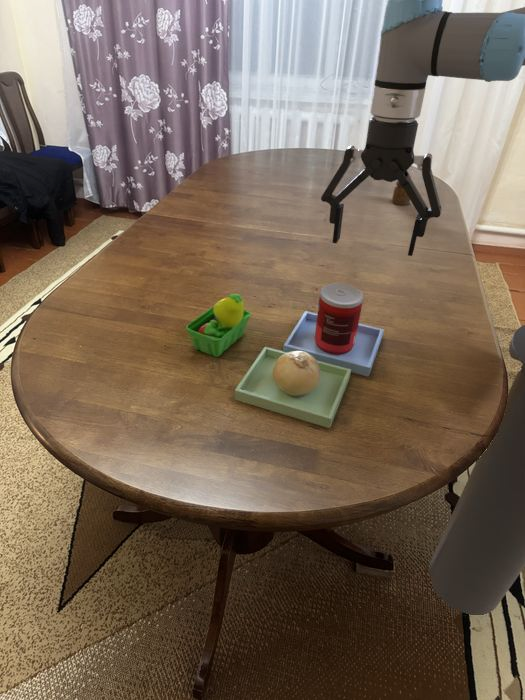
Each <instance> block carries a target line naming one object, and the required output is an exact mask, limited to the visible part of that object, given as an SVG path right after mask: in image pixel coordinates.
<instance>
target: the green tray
mask: <svg viewBox="0 0 525 700" xmlns="http://www.w3.org/2000/svg"><path fill="white" fill-rule="evenodd" d="M286 353H287V352H283V350H279V349H276V348H271V347H269V346H264V347H263V349H262V350H261V352H260V353H259V354H258V356H257V357H256V359H254V362H253V363H252V365H251V366H250V367H249V369H248V370H247V372H246V373H245V375H244V376H243V377H242V379H241V381H240V382H239V384H238V385H237V386H236V388H235V389H234V400H235V401H237V402H241V403H244V404H248V405H251V406H254V407H258V408H261V409H264V410H268V411H270V412H274V413H277V414H281V415H283V416H287V417H290V418H294V419H297V420H299V421H304V422H307V423H310V424H313V425H317V426H321V427H323V428H326V429H331V426H332V424H333V421H334V419H335V417H336V414H337V412H338V409H339V406H340V404H341V402H342V399H343V396H344V393H345V391H346V389H347V386H348V383H349V381H350V378H351V373H352V372H351V369H347V368H344V367H340V366H336V365H332V364H329V363H325V362H321V361H317V360H316V361H317V362H318V364H319V367H320V379H319V382H318V385H317V386H316V388H315V389H313V390H312V391H311V392H310V393H308V394H304V395H299V396H292V395H289V394H287V393H285V392H284V391H283V390H281V389H280V388H279V387H278V386H277V385H276V384H275V382H274V379H273V368H274V365H275V363H276V361H277V360H278V359H279V357H281V356H282V355H284V354H286Z"/></svg>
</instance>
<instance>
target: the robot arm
mask: <svg viewBox="0 0 525 700" xmlns="http://www.w3.org/2000/svg"><path fill="white" fill-rule="evenodd" d="M443 9H444V8H443V0H387V2H386V7H385V10H384V16H383V22H382V28H381V31H380V34H379V36H380V39H379V48H378V55H377V63H376V69H375V70H376V72H375V79H374V85H373V91H372V98H371V104H370V105H371V106H370V112H369V113H370V114H371V116H373V117H371V118H370V119H368V127H367V134H366V141H365V147H364V149H360V148H356V146H354V145H350V146H348V147H347V148H346V149H345V151H344V155H343V159H342V163H341V164H340V166H339V168H338V169H337V171H336V172H335V174H334V176H333V177H332V179H331V180H330V182H329V184H328V185H327V187H326V188H325V190H324V191H323V193H322V195H321V197H320V200H321V202H324V203H327V204H328V205H329V206H330V210H329V219H328V221H329V224H333V233H332V241H331V242H332V244H337V243H338V242H339V241H340V238H341V233H342V226H343V225H342V223H343V215H344V209H345V208H344V207H345V203H341V202H342V201H344V200H345V199H346V198H347V197H348V196H349V195H350V194H351V193H352V192H353V191H354V190H355V189H357V188H358V187H359V186H360V185H361V184H362V183H363V182H364V181H365V180H366V179H367V178H368V177H370V178H372V179H373V181H385V182H388V183H393V182H396V181H397V180H398V182H399V183H400V185H401V186H402V187H403V188H404V190H405V192H406V193H407V195H408V197H409V199H410V202H411V204H412V206H413V207H414V209H415V211H416V212H417V214H416V216H415V218H414V219H415V220H414V225H413V229H412V234H411V238H410V243H409V248H408V251H407V256H409V257H413V254H414V250H415V247H416V242H417V237H418V238H423V237H424V236H425V233H426V229H427V225H428V221H429V220H430V219H432V218H436V219H437V218H439V217H441V214H442V206H441V201H440V197H439V194H438V189H437V186H436V182H435V178H434V174H433V171H432V162H433V155H432V154H431V153H426V154H425V155H415V153H414V147H415V143H416V138H417V132H418V127H419V122H418V121H417V120H416V119H418V118H419V117H421V113H422V108H423V102H424V98H425V93H426V87H427V81H428V77H430V76H431V77H447V78H455V79H465V80H466V79H467V80H478V81H485V82H487V83H491V82H510V81H512V80H515V79H516V78H517V77H518V76H519V73H520V71H521V69H522V67H524V66H525V6H523V7H519V8H515V9H511V10H507V11H502V12H452V11H446V10H443ZM358 159H361V161H362V163H363V166H364V169H362V170H361V171H360V172H359V173H358V174H357V175H356V176H355V177H354V178H353V179H352V180H351V181H350V182H349V183H348V184H347V185H346V186H345V187H343V189H341V191H340V192H338V193H337V194H336V195H335V194H334V192H335V190H336V189H337V187H338V185H339V184H340V183H341V181H342V179H343V178H344V176H345V174H346V173H347V171H348V170H349V169H350V167H351V165H352V163H355V162H357V160H358ZM413 164H415V165H416V166H417V170H418V171H421V175H422V176H421V177H422V180H423V183H424V189H425V191H426V195H427V198H428V202H429V206H430V207H428V205H427V204H426V202H425V200H424V198H423V197H422V195H421V193H420V192H419V190H418V188H417V187H416V185H415V183H414V181H413V180H412V176H411V174H409V173H410V172H409V171H408V170H410V168H411V167H412V166H413ZM408 172H409V173H408Z"/></svg>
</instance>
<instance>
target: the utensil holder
mask: <svg viewBox="0 0 525 700" xmlns="http://www.w3.org/2000/svg"><path fill="white" fill-rule="evenodd" d="M411 172H412V174H411ZM408 173H409V175H410V177H412V178H411V180H412V181H413V180H414V177H415V173H416V172H415V171H414V170H410V169H409V171H408ZM392 192H393V193H392V196H391V197H392V199H391V202H392V203H393V204H395V205H400V206H407V205H409V203H410V202H411V200H410V199H409V197H408V195H407V193H406V192H405V190H404V188H403V187H402V186H401V185H400V183H399V182H398V180H396V181H395V186H394V188H393V191H392Z"/></svg>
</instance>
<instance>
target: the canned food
mask: <svg viewBox="0 0 525 700" xmlns="http://www.w3.org/2000/svg"><path fill="white" fill-rule="evenodd" d="M319 292H320V293H319V297H318V306H317V313H316V314H317V322H316V331H315V342H316V345H317V346H318V348H319V349H321V350H322V351H324V352H326V353H329V354H334V355H341V354H345V353H348V352H350V351H351V350H352V348H353V346H354V344H355V339H356V334H357V329H358V324H360V318H361V313H362V307H363V301H364V294H363V292H362V291H361V290H360V289H358V288H357V287H355V286H354V285H351V284H346V283H343V282H342V283H341V282H335V283H329V284H328V283H327V284H326V285H324V286H322V288H321V290H320V291H319Z"/></svg>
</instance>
